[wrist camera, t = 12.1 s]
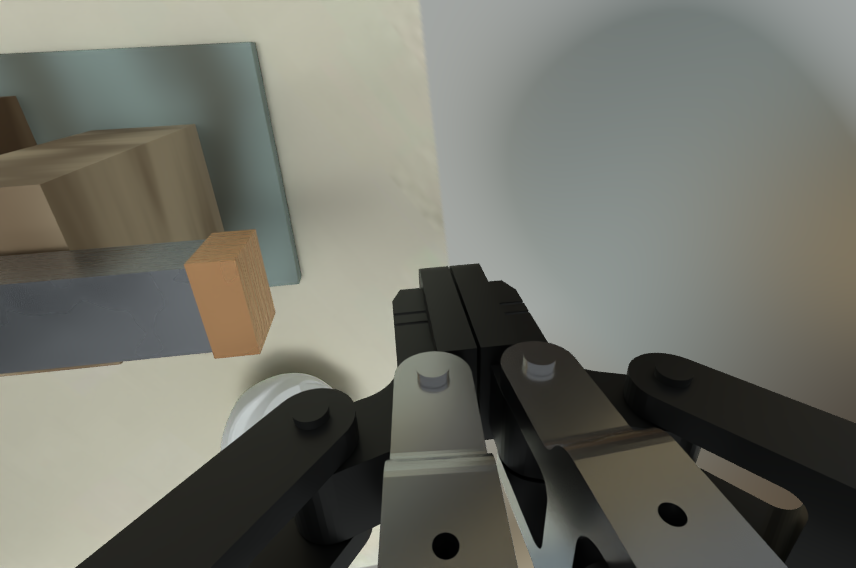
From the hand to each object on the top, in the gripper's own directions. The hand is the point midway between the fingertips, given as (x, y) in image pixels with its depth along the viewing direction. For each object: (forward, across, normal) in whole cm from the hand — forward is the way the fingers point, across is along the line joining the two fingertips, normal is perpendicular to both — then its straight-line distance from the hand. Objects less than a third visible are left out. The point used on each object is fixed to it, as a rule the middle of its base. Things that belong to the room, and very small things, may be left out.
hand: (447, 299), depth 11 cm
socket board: (+16, +18, 0) cm, 24 cm away
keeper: (+3, +11, 0) cm, 11 cm away
